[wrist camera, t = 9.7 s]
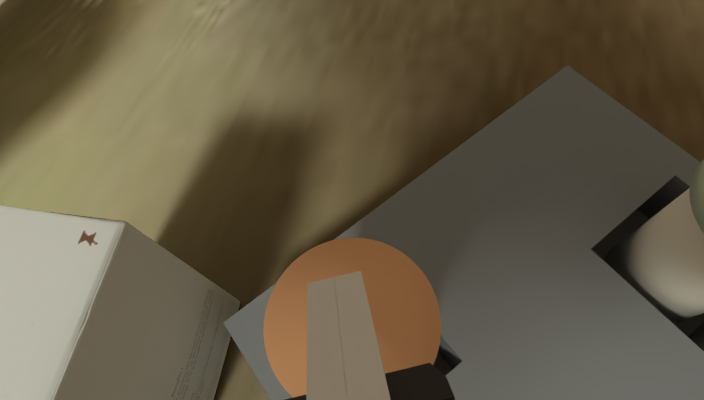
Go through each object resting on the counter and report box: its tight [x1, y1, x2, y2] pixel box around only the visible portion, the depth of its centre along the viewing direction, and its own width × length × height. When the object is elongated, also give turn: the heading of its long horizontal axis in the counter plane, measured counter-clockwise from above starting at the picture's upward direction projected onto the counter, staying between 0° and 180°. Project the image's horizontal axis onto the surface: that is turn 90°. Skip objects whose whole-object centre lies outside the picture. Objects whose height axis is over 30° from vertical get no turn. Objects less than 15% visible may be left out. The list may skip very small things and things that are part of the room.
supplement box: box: [0, 205, 240, 400], centre depth 20 cm, size 7×7×13 cm
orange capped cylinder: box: [263, 238, 441, 397], centre depth 19 cm, size 6×6×10 cm
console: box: [223, 65, 704, 400], centre depth 23 cm, size 16×23×5 cm
